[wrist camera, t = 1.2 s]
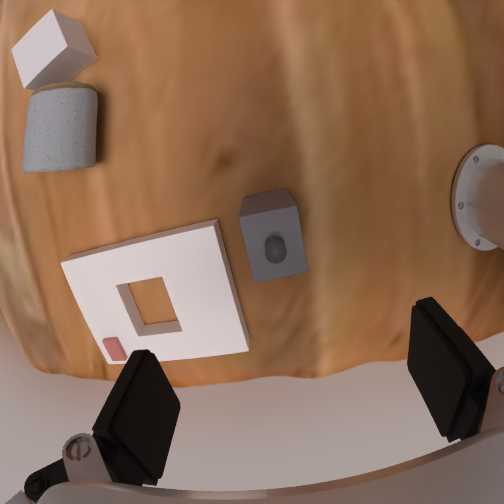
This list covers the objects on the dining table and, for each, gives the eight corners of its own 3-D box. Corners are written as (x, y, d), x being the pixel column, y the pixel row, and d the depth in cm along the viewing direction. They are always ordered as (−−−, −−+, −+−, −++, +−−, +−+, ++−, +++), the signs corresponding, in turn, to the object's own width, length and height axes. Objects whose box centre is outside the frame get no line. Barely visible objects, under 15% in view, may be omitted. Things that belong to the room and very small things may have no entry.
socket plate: (217, 218, 29) (212, 227, 26) (249, 337, 34) (248, 355, 31) (71, 255, 31) (57, 265, 28) (115, 352, 35) (106, 367, 32)
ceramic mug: (112, 86, 24) (69, 74, 17) (109, 164, 27) (65, 174, 20) (37, 101, 25) (-9, 99, 17) (36, 170, 27) (-9, 181, 20)
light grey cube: (98, 58, 23) (67, 46, 18) (58, 93, 24) (24, 88, 19) (81, 23, 21) (52, 8, 16) (43, 57, 23) (11, 49, 17)
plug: (286, 188, 28) (299, 210, 19) (296, 238, 29) (311, 281, 20) (244, 196, 28) (236, 223, 19) (255, 246, 30) (253, 292, 21)
